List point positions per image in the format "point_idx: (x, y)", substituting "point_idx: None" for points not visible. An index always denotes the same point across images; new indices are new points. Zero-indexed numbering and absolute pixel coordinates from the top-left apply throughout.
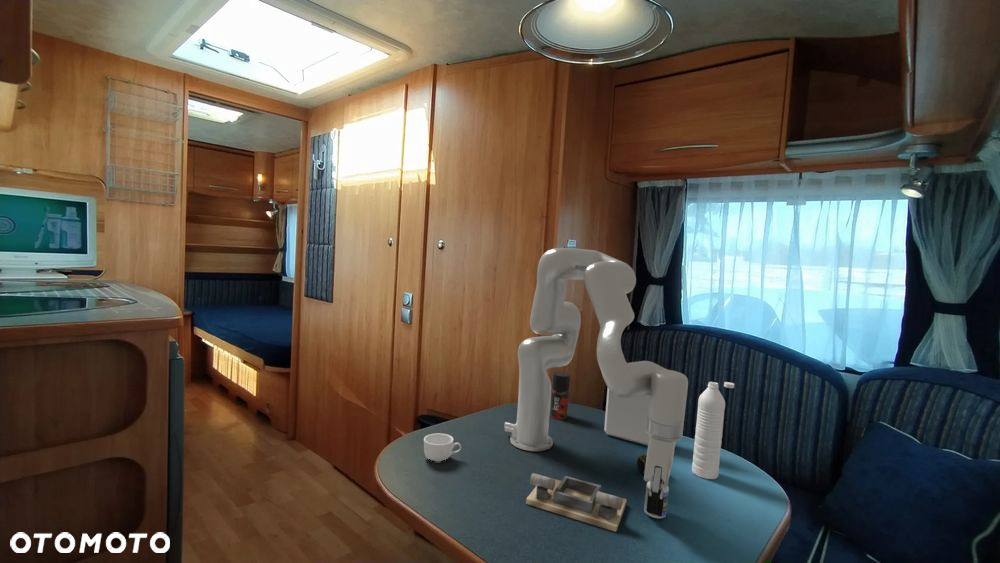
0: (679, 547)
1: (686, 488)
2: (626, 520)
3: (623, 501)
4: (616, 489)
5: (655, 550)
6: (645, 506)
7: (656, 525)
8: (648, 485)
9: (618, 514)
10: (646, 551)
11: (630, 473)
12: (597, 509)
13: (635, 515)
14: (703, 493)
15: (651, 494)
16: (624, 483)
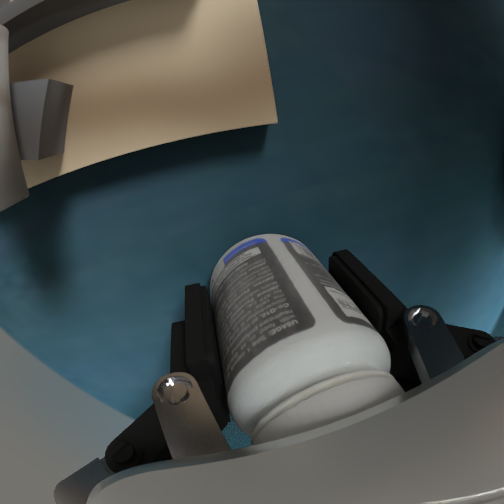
0: (120, 390)
1: (479, 282)
2: (108, 188)
3: (236, 114)
4: (379, 47)
5: (39, 346)
6: (232, 263)
7: (182, 308)
8: (268, 371)
9: (69, 158)
10: (12, 327)
11: (498, 100)
12: (41, 52)
13: (190, 204)
14: (465, 321)
15: (134, 421)
16: (442, 79)
